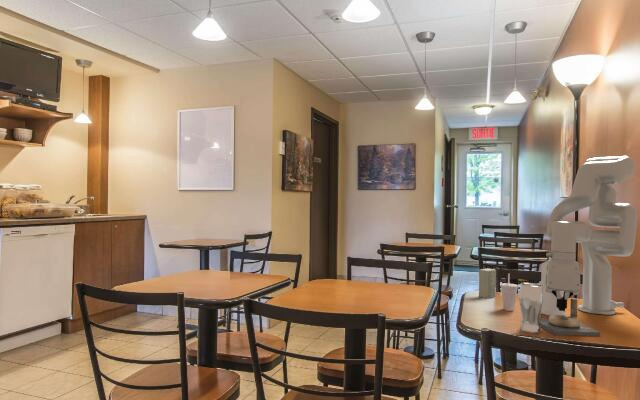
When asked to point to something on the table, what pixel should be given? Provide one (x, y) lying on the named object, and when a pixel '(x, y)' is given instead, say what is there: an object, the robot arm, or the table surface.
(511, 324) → the table surface
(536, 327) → the beer glass
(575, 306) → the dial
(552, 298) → the milk
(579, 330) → the board
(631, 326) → the table surface
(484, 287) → the skincare box
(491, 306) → the table surface
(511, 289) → the smoothie
